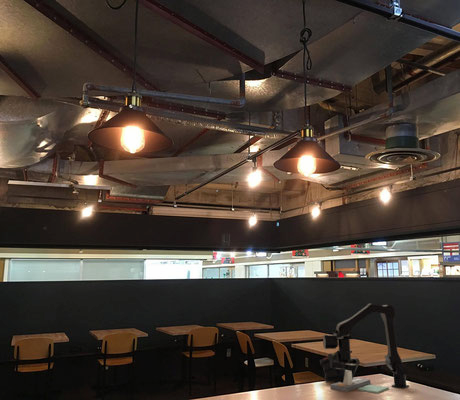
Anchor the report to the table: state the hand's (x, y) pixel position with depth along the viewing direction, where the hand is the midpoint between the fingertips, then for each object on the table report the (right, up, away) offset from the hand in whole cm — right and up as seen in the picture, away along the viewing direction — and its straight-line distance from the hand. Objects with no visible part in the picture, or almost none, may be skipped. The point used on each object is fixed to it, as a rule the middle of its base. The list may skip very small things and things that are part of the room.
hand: (346, 381), depth 214 cm
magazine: (-3, -7, +15) cm, 16 cm away
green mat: (+11, -2, -6) cm, 13 cm away
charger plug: (0, -3, -1) cm, 3 cm away
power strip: (+4, -4, +4) cm, 7 cm away
